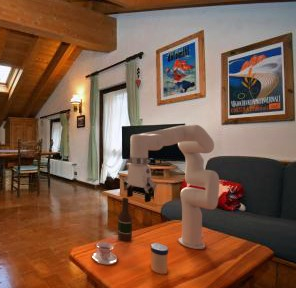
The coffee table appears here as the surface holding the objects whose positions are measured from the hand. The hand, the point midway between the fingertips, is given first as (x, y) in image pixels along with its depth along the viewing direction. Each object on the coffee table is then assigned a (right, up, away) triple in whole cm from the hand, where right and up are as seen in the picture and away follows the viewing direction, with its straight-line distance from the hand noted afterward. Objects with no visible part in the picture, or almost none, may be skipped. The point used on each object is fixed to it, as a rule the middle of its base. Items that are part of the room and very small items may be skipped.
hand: (138, 199), depth 98 cm
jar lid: (+9, -22, -1) cm, 23 cm away
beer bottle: (+3, -31, +29) cm, 42 cm away
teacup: (-14, -31, +8) cm, 35 cm away
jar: (+9, -31, -1) cm, 33 cm away
